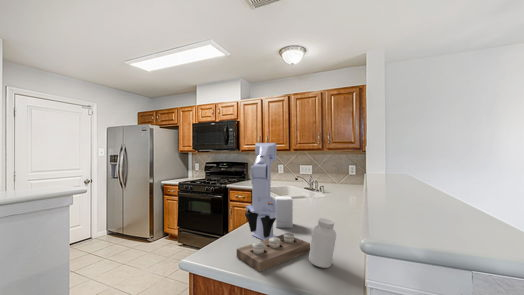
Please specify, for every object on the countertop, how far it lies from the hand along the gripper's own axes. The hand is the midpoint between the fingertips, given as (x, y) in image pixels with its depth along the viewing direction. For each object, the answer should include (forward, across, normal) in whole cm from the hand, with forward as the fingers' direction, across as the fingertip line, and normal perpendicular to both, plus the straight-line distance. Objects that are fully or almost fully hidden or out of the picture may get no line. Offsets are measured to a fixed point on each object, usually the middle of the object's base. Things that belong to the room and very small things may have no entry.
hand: (259, 233), depth 84 cm
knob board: (+9, 0, +8) cm, 12 cm away
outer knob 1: (+7, 0, 0) cm, 7 cm away
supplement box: (+10, -22, +36) cm, 44 cm away
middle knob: (+7, 0, +8) cm, 11 cm away
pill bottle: (+9, +16, +14) cm, 23 cm away
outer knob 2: (+7, 0, +16) cm, 17 cm away
